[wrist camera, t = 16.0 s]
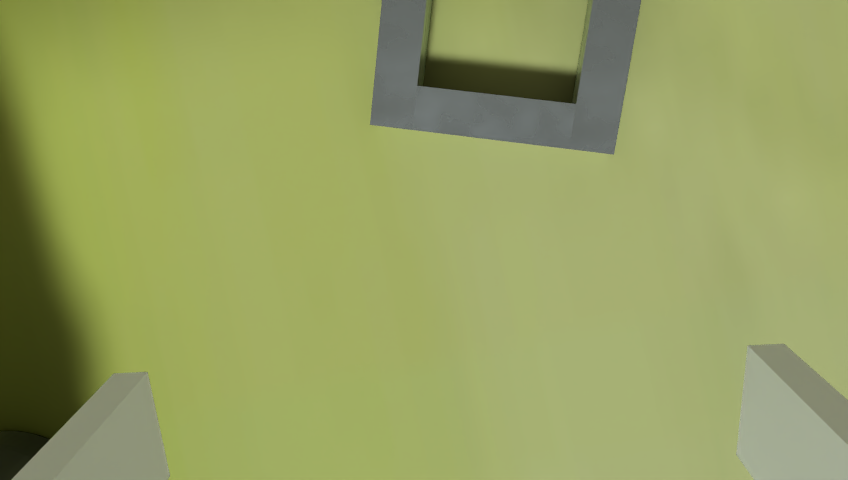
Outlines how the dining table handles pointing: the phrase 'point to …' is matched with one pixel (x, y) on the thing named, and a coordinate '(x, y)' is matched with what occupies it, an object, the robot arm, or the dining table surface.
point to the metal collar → (496, 114)
